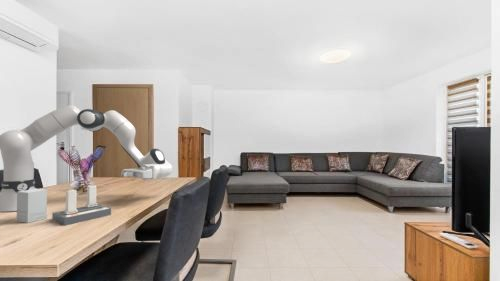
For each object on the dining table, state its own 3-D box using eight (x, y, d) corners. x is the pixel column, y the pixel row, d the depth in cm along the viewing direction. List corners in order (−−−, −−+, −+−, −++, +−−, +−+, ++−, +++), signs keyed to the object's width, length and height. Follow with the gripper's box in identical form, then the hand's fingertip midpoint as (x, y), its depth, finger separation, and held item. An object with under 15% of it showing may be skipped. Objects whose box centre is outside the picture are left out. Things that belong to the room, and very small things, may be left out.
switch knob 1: (64, 213, 101) (64, 191, 101) (75, 211, 105) (75, 189, 105) (66, 214, 100) (67, 191, 100) (77, 212, 103) (78, 190, 103)
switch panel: (52, 219, 103) (52, 211, 103) (97, 210, 118) (97, 203, 118) (64, 225, 96) (64, 217, 96) (110, 214, 111) (111, 207, 111)
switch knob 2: (85, 206, 112) (86, 186, 112) (95, 204, 116) (95, 185, 116) (88, 207, 111) (88, 186, 111) (97, 205, 114) (97, 185, 114)
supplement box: (47, 218, 105) (47, 189, 106) (26, 223, 98) (27, 192, 99) (36, 216, 108) (36, 188, 108) (15, 221, 101) (16, 191, 101)
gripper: (136, 165, 143) (112, 167, 131) (157, 167, 131) (133, 169, 120) (136, 176, 143) (112, 179, 131) (157, 179, 131) (133, 182, 120)
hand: (122, 174), depth 125 cm, fingers closed
